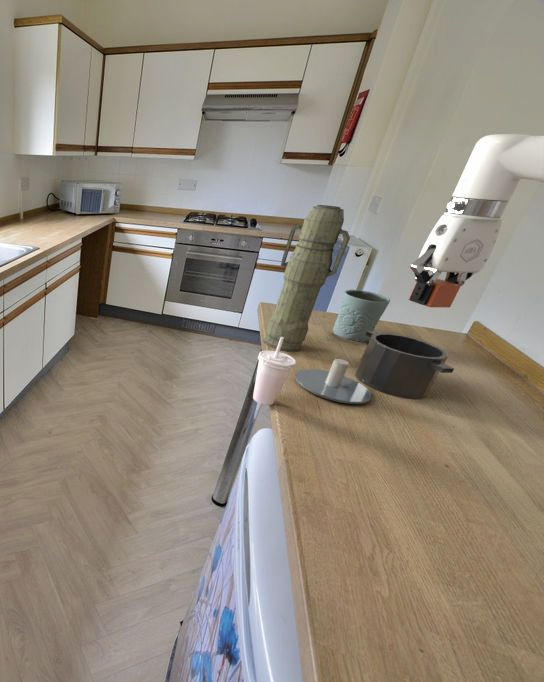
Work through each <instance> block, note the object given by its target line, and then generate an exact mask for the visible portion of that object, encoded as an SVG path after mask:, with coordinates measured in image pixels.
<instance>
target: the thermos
mask: <svg viewBox="0 0 544 682" xmlns="http://www.w3.org/2000/svg"><path fill="white" fill-rule="evenodd" d="M344 220H345V211H344V209H343V208H341V207H340V206H337V205H336V206H335V205H328V204H327V205H326V204H317V205H316V206H312V207H311V209H310V210H309V211H308V213H307V215H306V216H305V218H304V220H303V223H298V224H296V225H295V226H293V227H292V228H291V230H290V232H289V236H288V239H287V242H286V246H285V248H284V251H283V255H282V259H281V262H280V266H281V267H284V274H283V283H282V286H281V290H280V293H279V296H278V298H277V299H278V300H277V302H276V306H275V308H274V312H273V315H272V317H271V318H270V319H269V320H268V323H267V326H266V329H265V335H264V338H263V343H264V344H265V345H266V346H268V347H270V348H272V349H277V346H278V343H279V340H280V337H284V339H283V342H282V345H281V348H280V351H282V352H292V353H295V352H299V351H301V348H302V344H303V343H304V342H305V339H306V337H307V334H308V331H309V321H310V318H311V316H312V313H313V310H314V307H315V304H316V302H317V299H318V296H319V293H320V291H321V288H322V287H323V286H324V285H325V284H326V281H327V278H328V277H331V276H333V275H335V274H336V273H337V272H338V270H339V267H340V264H341V261H342V259H343V256H344V254H345V252H346V249H347V246H348V244H349V242H350V239H351V237H350V234H349V231H347V230H345V229H343V225H344V222H345V221H344ZM297 229H299V230H300V233H299V235H298V242H297V244H296V245H295V248H294V250H293V251H292V253H291V254H290V256H289V255H288V254H289V252H290V248H291V245H292V242H293V239H294V236H295V232H296V231H297ZM340 235H342V238H343V240H342V243H341V246H340V248H339V250H338V253H337V256H336V259H335V262H334V263H333V253H334V247H335V244H337V241H338V239H339V236H340ZM288 256H289V258H288ZM287 258H288V261H287ZM286 261H287V262H286ZM332 265H333V267H332ZM331 267H332V269H331Z"/></svg>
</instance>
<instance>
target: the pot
mask: <svg viewBox="0 0 544 682" xmlns="http://www.w3.org/2000/svg"><path fill="white" fill-rule="evenodd" d="M365 335H366V336H368V337H370V339H369V340H368V342H367V345H366V348H365V349H364V351H363V354H362V355H361V358H360V361H359V363H358V365H357V368H356V370H355V373H354V375H355V377H356V378H357V380H358V381H360V382H361V384H364V385H366V386H368V387H369V388H371V389H374V390H376V391H378V392H382V393H384V394H387V395H391V396H394V397H398V398H403V399H409V400H420V399H424V398H425V397H427V395H429V393H430V391H431V390H432V387H433V385H434V384H435V382H436V381H437V378H438V376H439V374H440V373H441V374H452V373H453V372H454V370H455V367H452V366H450V365H448V364H446V361H447V359H448V358H449V355H448V352H447V351H445V350H444V349H442V348H441V347H439V346H438V345H435V344H432V343H431V342H428V341H425V340H422V339H418V338H415V337H411V336H407V335H402V334H397V333H389V332H388V333H387V332H378V331H376V330H374V331H367V332H366V334H365Z"/></svg>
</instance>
